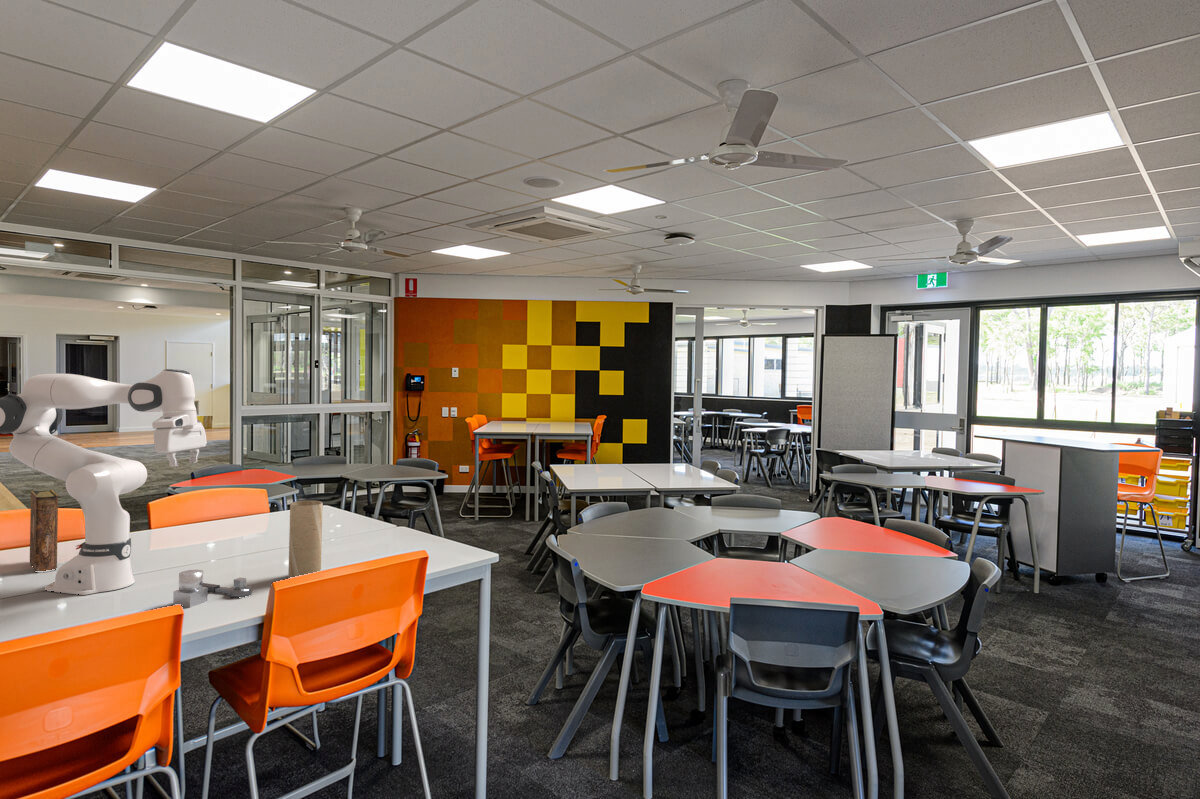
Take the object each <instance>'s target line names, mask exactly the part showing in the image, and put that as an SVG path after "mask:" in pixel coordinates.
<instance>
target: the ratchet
mask: <svg viewBox="0 0 1200 799" xmlns="http://www.w3.org/2000/svg"><path fill="white" fill-rule="evenodd" d="M203 587H208V593H210V592H212V593H211V594H219V593H224V594H223V595H227V594H228V595H227V597H230V598H229V599H233V598H237V599H240V598H239V597H244V598H246V597H245V596H248V597H250V596H252V594H253V592H252V586H251V585H247V578H246V577H240V576H239V577H237V578H235V579H233V586H231V587H225V586H221V585H220V584H214V583H213V584H212V583H207V582H203ZM249 595H250V596H249Z"/></svg>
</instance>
